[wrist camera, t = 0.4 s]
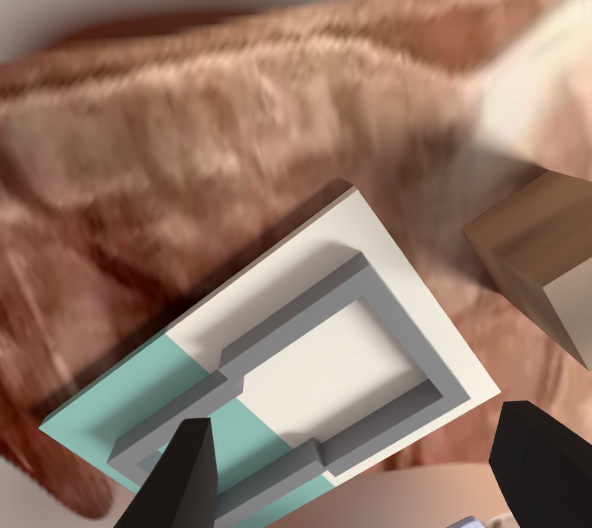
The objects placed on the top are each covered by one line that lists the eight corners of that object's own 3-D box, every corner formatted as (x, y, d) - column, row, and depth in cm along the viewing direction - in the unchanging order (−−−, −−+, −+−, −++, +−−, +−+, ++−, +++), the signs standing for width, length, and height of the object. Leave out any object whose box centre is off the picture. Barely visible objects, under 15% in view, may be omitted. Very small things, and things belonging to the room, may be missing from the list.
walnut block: (583, 242, 19) (710, 304, 13) (500, 294, 20) (589, 371, 14) (547, 169, 17) (676, 205, 12) (460, 228, 18) (542, 287, 13)
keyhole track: (493, 382, 22) (517, 412, 20) (222, 539, 26) (218, 578, 24) (353, 185, 17) (365, 198, 15) (45, 416, 21) (21, 452, 19)
